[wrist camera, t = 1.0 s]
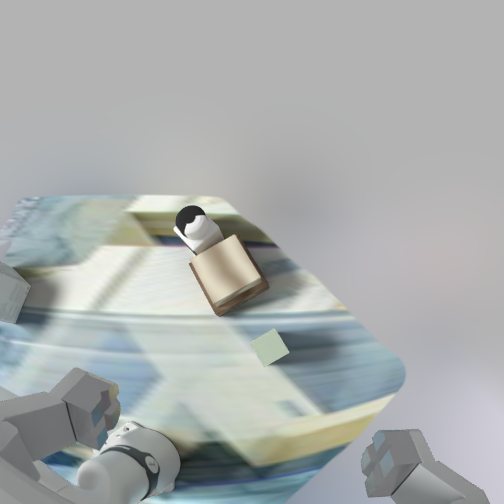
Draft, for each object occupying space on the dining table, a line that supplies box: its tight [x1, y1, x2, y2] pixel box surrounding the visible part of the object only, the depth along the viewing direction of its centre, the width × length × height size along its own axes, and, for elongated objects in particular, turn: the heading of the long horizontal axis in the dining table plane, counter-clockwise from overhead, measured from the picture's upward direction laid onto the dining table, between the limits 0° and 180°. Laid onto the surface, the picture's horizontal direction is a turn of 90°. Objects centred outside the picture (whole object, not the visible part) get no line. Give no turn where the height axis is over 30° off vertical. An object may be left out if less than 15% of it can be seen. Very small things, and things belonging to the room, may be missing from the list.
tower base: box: [189, 236, 269, 316], centre depth 64 cm, size 12×12×4 cm
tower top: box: [190, 234, 261, 307], centre depth 60 cm, size 10×10×4 cm
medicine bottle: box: [174, 206, 224, 256], centre depth 63 cm, size 7×7×12 cm
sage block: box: [250, 328, 290, 367], centre depth 55 cm, size 5×5×10 cm
